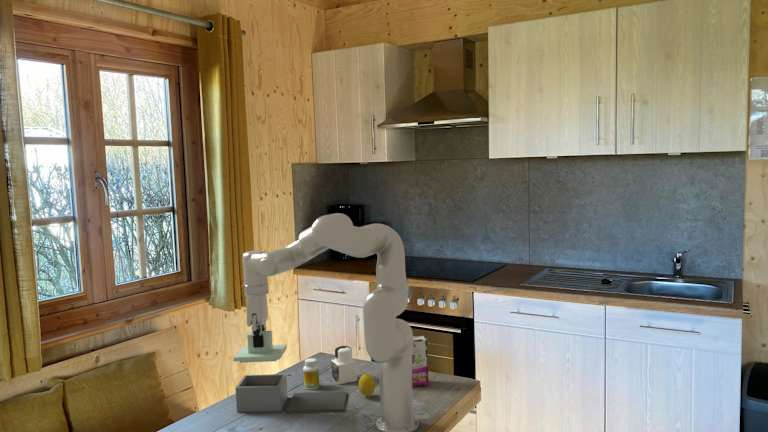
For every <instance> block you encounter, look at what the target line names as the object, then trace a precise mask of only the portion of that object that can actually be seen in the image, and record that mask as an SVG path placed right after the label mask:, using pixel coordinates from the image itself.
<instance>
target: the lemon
mask: <svg viewBox="0 0 768 432" xmlns="http://www.w3.org/2000/svg"><path fill="white" fill-rule="evenodd" d="M375 389H376V381H375V379H374V377H373V376H372V375H371V374H369V373H365V374H363V375H361V376H360V378H359V380H358V390H359V392H360V393H361V395H362V396H365V397H366V398H368V397H370V396H371V395H372V394H374V392H375Z"/></svg>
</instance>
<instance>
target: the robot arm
mask: <svg viewBox="0 0 768 432" xmlns="http://www.w3.org/2000/svg"><path fill="white" fill-rule="evenodd" d="M329 249H331V250H333V251H336V252H339V253H341V254H345V255H347V256H350V257H354V258H359V259H360V258H361V259H363V258H367V257H370V256H373V255H375V254H376V255H377V260H376V267H375V274H376V275H375V276H376V288H375V289H374V290H372V291H370V292H369V293H368V295H367V296H366V297H365V300H364V303H363V310H362V314H363V315H362V317H363V335H364V344H365V345H364V346H365V349H366V352H367V354H368V355H369V357H370V358H371V360H373V361H375V362H376V363H379V364H378V365H379V367H378V368H379V370H378V371H379V372H378V373H379V397H380V398H379V400H380V401H379V402H380V403H379V404H380V417H378V418H377V420H376V422H375V427H376V429H377V430H378V431H379V432H414V431H416V430H417V429H418V428H419V426H420V422H421V421H422V422H428V421H430V414H429V413H425V411H424V410H423V411H420V410H419V411H417V410H415V406H414V399H413V398H414V397H413V395H414V393H413V390H414V389H413V387H412V350H413V337H414V333H413V330H412V327H411V326H410V324H409V323H408V322H407V321H406V320H404V319H403V318H402V319H401V318H397V317H398V316H400V315H401V314H402V313H404V311H405V310H406V308H407V306H408V291H407V290H408V289H407V288H408V287H407V274H406V259H405V258H406V255H405V254H406V253H405V246H404V243H403V240H402V238H401V236H400V235H399V234H398V232H397V231H396V230H394V228H392V227H390V226H389V225H386V224H384V223H370V224H366V225H363V226H356V225H354V223H353V221H352V220H351V218H350V217H349V216H348V215H346V213H345V214H344V213H339V212H335V213H330V214H325V215H321V216H319V217H318V218H316V220H315V221H314V222H313V224H312V225H311V226H310V227H308V228H305V229H304V230H302V231H301V232H300V233H299V234H298V239H297V240H296V241H294V242H292V243H291V244H288V245H287V246H285V247H283V248H278V249H274V250H272V251H267V252H265V251H264V250H248V251H245V252H244V253H243V254H242V270H243V271H242V273H243V284H244V285H243V288H244V296H246V307H245V308H246V326H247V328H250V327H251V331H252V333H253V347H254V348H261V347H263V346H264V342H263V335H262V331H267V321H268V319H269V307H268V299H267V298H268V297H267V295H269V290H270V289H269V277H273V276H276V275H280V274H283V273H286V272H289V271H292V270H294V269H295V268H297V267H299V266H301V265H303V264H305V263H307V262H308V261H309V260H311V259H313V258H315V257H316V256H319V254H322V253H323V252H325V251H327V250H329Z"/></svg>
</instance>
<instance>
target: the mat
mask: <svg viewBox="0 0 768 432" xmlns="http://www.w3.org/2000/svg"><path fill="white" fill-rule="evenodd" d="M347 397H348V391H323V392H322V391H320V392H319V391H316V392H315V391H314V392H293V394H292V396H291V399H290V402H289V403H288V406H287V408H286V409H285V412H286V414H292V413H293V414H294V413H296V414H298V413H330V412H331V413H332V412H334V413H335V412H344V409H345V405H346V401H347Z"/></svg>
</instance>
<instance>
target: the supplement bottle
mask: <svg viewBox="0 0 768 432" xmlns="http://www.w3.org/2000/svg"><path fill="white" fill-rule="evenodd" d="M302 369H303V370H302V371H303V373H302V374H303V388H304V389H306V390H317V389H318V388H320V370H319V369H320V368H319V365H318V364H317V359H316V358H312V357H310V358H306V359H305V360H304V366H303V368H302Z"/></svg>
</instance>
